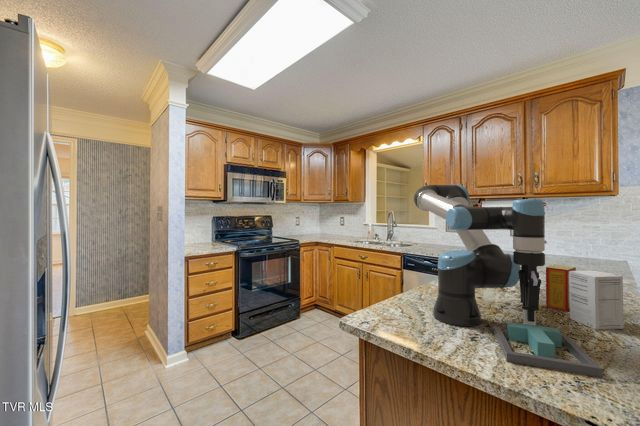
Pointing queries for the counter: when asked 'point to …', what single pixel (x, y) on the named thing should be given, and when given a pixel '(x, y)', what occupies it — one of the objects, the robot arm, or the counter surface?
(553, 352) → the t block
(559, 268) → the baking soda box
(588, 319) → the supplement box
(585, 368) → the frame
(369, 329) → the counter surface
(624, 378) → the counter surface
